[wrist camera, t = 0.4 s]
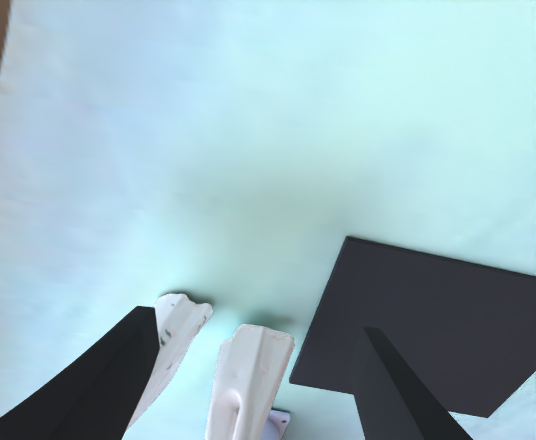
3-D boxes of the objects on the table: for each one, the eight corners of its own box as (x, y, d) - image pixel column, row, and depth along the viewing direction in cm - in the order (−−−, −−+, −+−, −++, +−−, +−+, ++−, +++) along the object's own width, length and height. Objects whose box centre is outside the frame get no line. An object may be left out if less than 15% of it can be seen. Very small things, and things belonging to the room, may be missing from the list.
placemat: (484, 413, 28) (487, 418, 27) (289, 378, 27) (289, 383, 26) (605, 291, 21) (612, 296, 20) (346, 235, 19) (347, 239, 19)
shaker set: (295, 317, 23) (308, 497, 13) (280, 350, 25) (281, 529, 15) (150, 282, 22) (44, 448, 12) (145, 319, 24) (50, 490, 14)
